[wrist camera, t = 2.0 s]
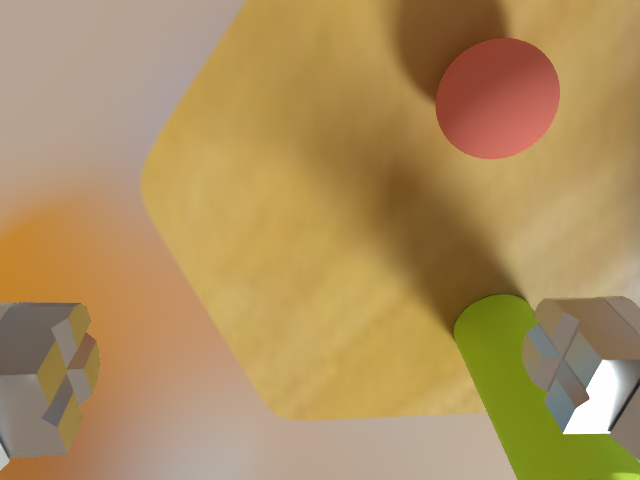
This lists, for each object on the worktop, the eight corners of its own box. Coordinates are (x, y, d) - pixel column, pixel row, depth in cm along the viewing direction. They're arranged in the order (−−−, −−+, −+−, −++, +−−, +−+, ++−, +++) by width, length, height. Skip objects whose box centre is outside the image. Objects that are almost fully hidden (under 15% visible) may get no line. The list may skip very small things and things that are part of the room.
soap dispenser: (448, 293, 32) (638, 679, 15) (543, 293, 33) (825, 663, 16) (432, 353, 35) (574, 729, 18) (518, 353, 36) (732, 714, 19)
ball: (540, 32, 23) (605, 53, 18) (509, 137, 26) (559, 178, 21) (433, 26, 23) (473, 47, 18) (414, 134, 26) (444, 176, 21)
